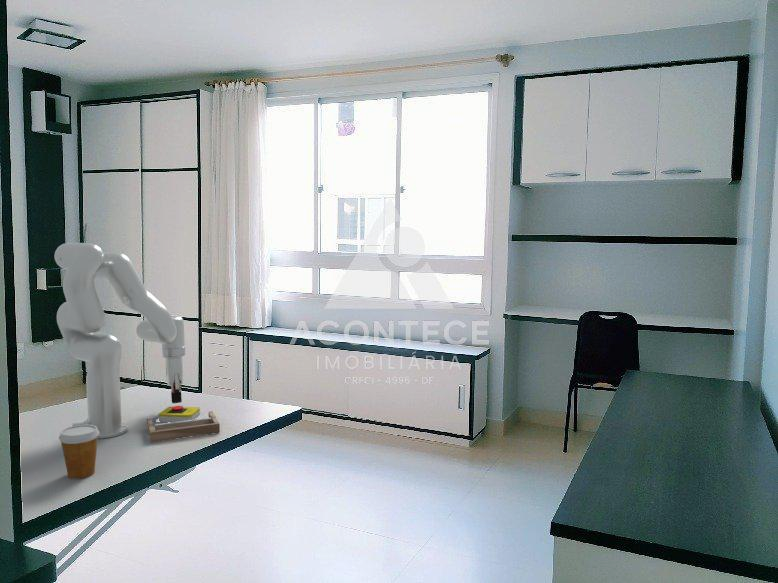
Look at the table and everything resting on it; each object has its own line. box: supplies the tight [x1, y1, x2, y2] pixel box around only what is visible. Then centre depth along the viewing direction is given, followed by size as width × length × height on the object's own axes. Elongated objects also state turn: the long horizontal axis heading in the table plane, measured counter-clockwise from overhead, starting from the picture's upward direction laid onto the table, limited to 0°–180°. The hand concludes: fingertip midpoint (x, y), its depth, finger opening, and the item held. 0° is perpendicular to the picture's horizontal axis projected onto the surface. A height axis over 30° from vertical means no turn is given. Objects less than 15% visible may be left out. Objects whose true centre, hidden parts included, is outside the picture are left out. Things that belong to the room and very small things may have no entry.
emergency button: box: [158, 405, 201, 423], centre depth 209 cm, size 9×4×15 cm
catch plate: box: [154, 417, 211, 431], centre depth 195 cm, size 1×17×3 cm, turn 115°
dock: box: [146, 411, 221, 443], centre depth 196 cm, size 14×20×3 cm
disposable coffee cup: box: [58, 425, 99, 480], centre depth 161 cm, size 10×10×12 cm
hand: (176, 402), depth 218 cm, fingers closed
